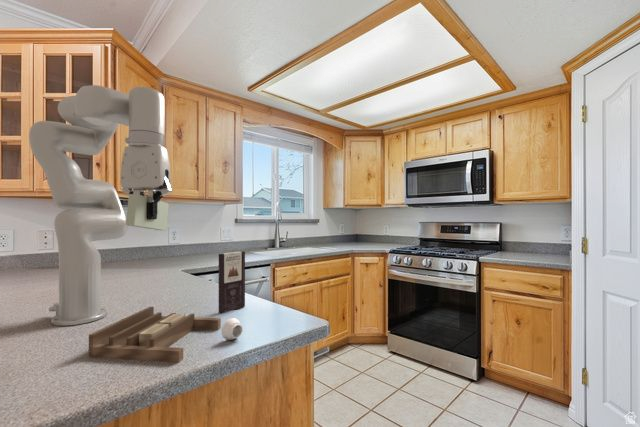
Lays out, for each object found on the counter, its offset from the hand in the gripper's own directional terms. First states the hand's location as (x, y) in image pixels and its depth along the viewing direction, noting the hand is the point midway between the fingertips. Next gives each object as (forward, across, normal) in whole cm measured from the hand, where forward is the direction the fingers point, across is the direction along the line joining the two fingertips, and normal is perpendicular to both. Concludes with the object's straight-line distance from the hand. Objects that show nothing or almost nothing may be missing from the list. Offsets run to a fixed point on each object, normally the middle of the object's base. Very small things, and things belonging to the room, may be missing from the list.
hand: (146, 218), depth 73 cm
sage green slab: (0, 0, +7) cm, 7 cm away
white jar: (+29, +20, +2) cm, 36 cm away
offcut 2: (+29, +4, +4) cm, 30 cm away
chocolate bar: (+29, +11, +25) cm, 40 cm away
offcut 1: (+29, +4, -4) cm, 30 cm away
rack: (+29, +4, 0) cm, 29 cm away
